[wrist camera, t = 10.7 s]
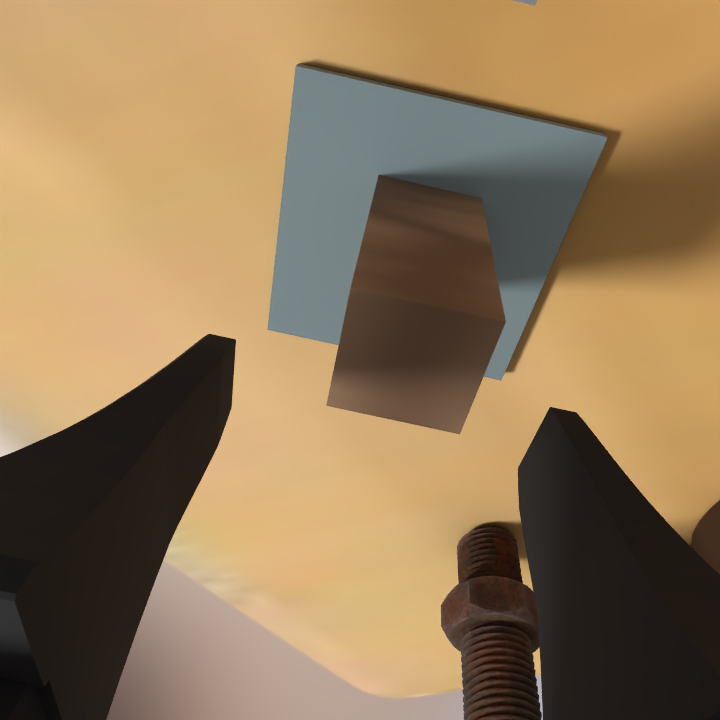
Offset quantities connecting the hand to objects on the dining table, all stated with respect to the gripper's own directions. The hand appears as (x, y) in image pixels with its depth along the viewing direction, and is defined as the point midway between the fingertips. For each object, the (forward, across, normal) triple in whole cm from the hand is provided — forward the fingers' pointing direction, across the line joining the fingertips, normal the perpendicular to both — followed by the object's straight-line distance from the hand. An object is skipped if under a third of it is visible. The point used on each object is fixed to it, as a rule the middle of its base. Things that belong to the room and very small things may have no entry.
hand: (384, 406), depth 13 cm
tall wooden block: (+9, 0, 0) cm, 9 cm away
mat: (+10, 0, 0) cm, 10 cm away
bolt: (+10, -8, +16) cm, 21 cm away
